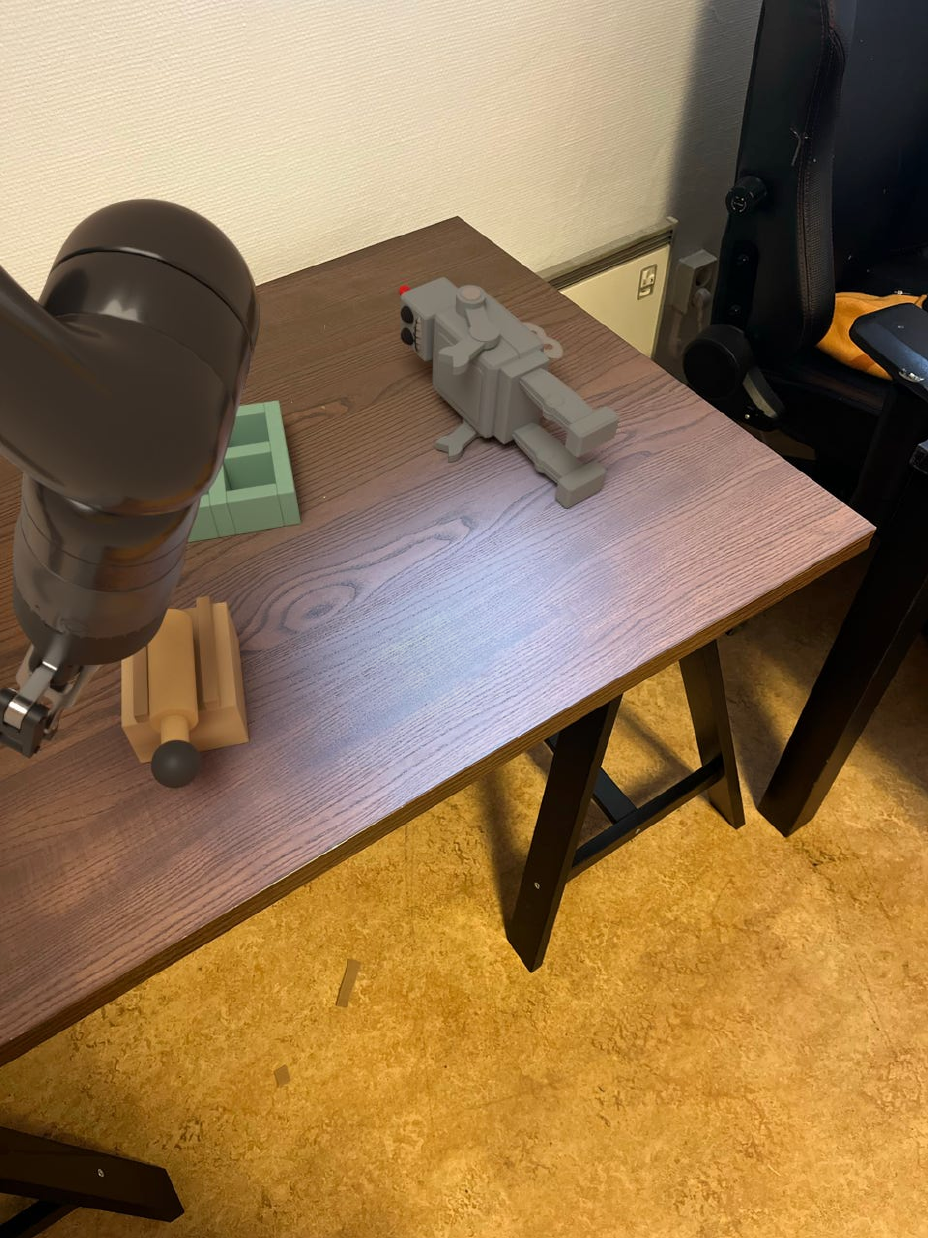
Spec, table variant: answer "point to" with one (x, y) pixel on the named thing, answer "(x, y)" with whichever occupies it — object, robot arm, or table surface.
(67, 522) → the robot arm
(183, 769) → the vial
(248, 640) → the table surface
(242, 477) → the vial rack
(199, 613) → the vial rest
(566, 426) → the toy robot
